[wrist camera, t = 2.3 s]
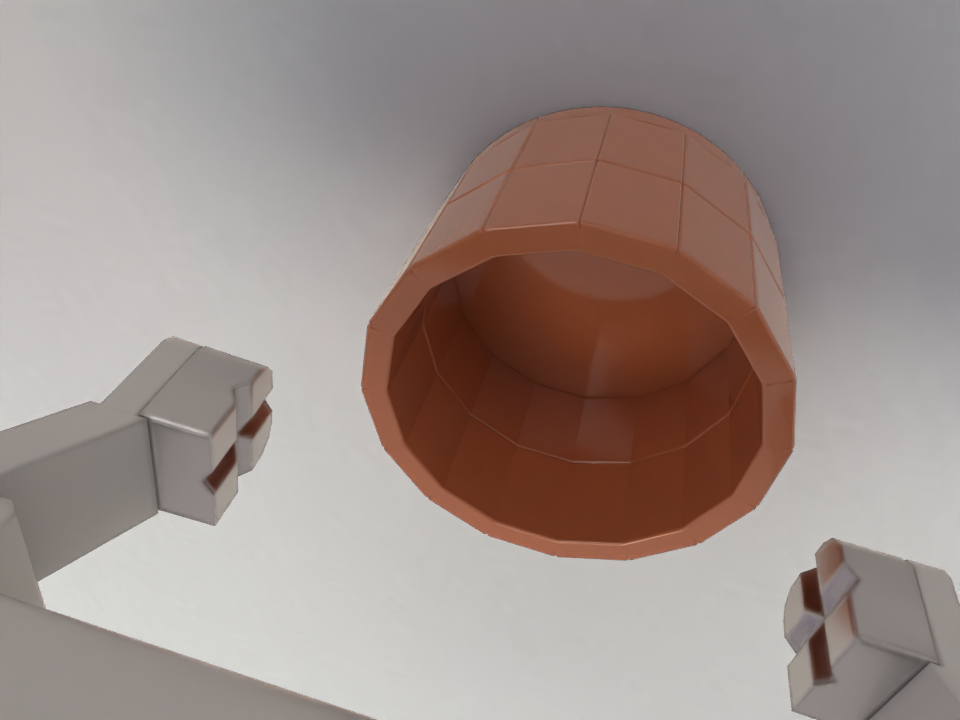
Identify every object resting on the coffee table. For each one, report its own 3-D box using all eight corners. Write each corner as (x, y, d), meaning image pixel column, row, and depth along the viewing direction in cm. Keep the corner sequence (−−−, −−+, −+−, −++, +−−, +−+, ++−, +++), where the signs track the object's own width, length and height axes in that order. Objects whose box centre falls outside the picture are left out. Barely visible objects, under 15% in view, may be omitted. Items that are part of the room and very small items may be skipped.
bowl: (468, 63, 13) (383, 166, 10) (839, 162, 13) (887, 305, 9) (420, 350, 17) (348, 493, 14) (700, 432, 17) (698, 602, 13)
